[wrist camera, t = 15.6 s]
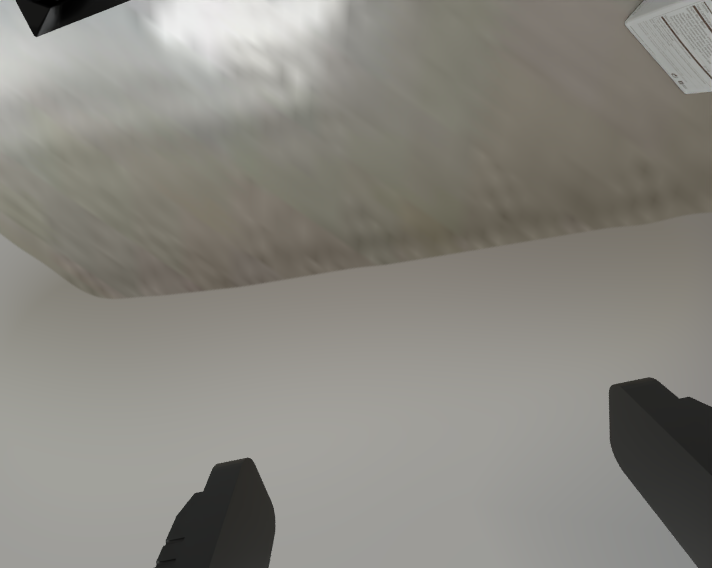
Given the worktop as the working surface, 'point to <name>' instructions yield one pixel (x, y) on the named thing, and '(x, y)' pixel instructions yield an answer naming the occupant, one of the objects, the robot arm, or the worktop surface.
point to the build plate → (60, 12)
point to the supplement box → (677, 39)
